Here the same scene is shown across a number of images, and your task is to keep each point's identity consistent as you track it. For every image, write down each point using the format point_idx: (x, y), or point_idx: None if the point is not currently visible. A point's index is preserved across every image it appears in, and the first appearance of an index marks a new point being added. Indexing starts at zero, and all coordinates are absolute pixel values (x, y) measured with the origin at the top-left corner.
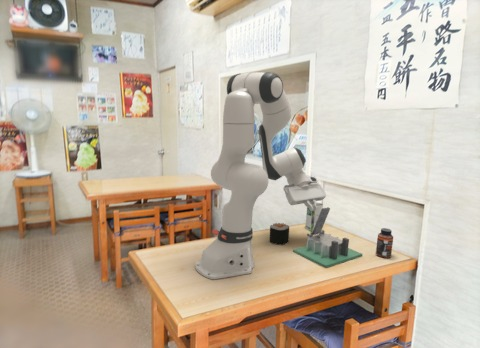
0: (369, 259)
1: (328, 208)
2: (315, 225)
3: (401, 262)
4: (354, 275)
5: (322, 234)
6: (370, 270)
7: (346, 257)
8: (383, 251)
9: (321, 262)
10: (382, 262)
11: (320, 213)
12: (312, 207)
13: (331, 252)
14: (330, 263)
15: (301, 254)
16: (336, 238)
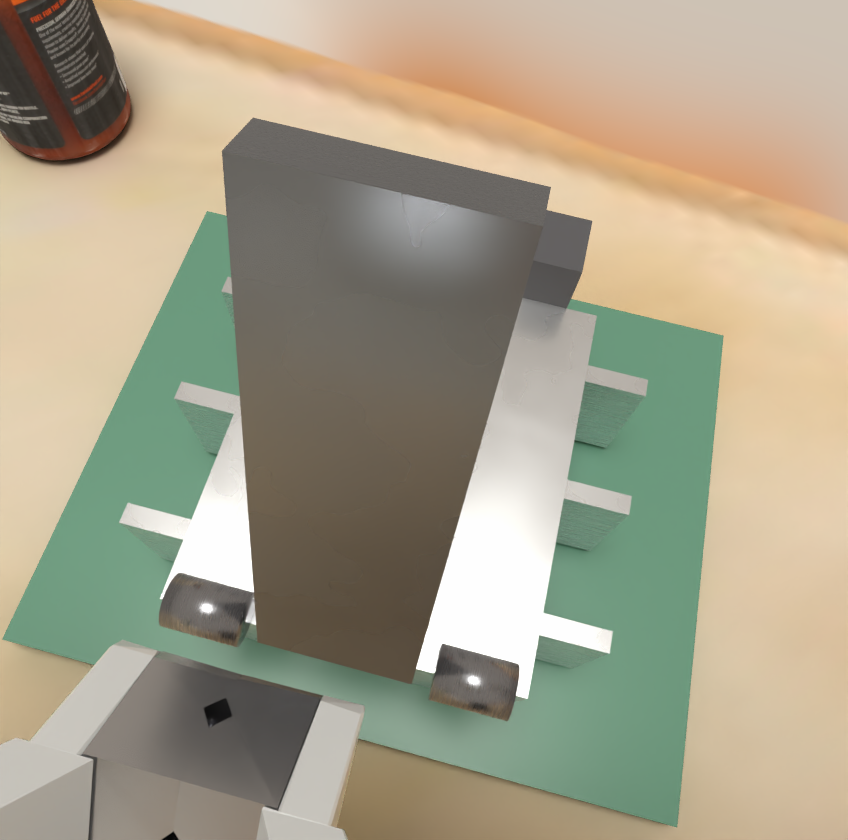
0: None
1: (303, 139)
2: (438, 586)
3: (133, 6)
4: (632, 157)
5: (247, 579)
6: (456, 109)
7: None
8: (113, 55)
9: (700, 390)
10: (233, 89)
11: (502, 358)
12: (327, 743)
13: None
14: (648, 326)
15: (689, 659)
16: None
